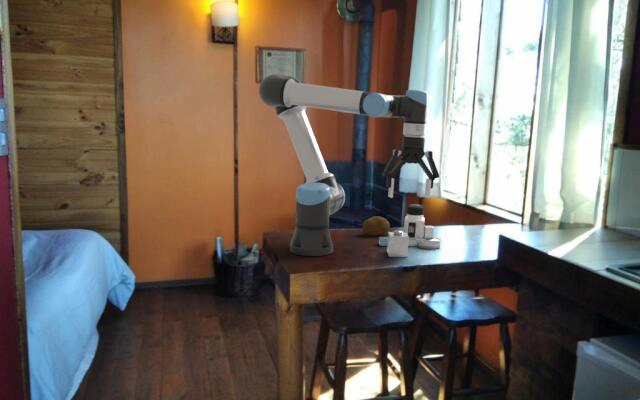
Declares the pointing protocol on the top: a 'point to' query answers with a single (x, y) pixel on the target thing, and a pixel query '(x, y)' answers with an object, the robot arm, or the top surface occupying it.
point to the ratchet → (419, 240)
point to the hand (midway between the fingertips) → (408, 197)
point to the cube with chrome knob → (397, 244)
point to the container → (414, 221)
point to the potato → (375, 226)
